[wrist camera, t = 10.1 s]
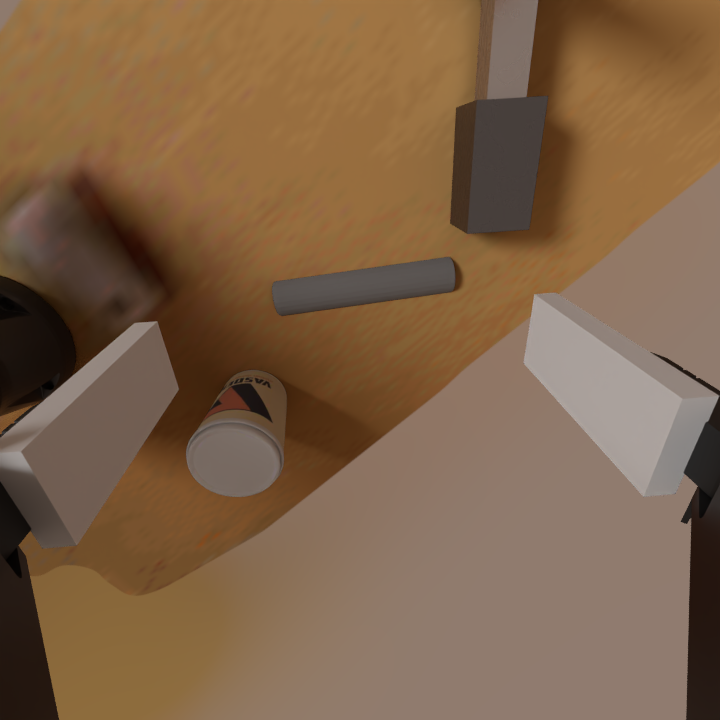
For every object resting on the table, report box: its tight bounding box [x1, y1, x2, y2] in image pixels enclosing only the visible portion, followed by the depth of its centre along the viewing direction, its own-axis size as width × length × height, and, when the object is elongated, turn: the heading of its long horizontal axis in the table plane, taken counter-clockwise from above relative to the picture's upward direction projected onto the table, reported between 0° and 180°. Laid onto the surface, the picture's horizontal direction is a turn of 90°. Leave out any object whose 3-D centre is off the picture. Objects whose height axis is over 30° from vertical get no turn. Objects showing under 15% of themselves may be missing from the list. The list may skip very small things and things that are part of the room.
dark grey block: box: [450, 96, 548, 234], centre depth 35 cm, size 6×10×6 cm, turn 3°
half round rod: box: [272, 257, 455, 316], centre depth 42 cm, size 4×20×2 cm, turn 97°
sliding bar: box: [475, 0, 538, 101], centre depth 26 cm, size 4×20×16 cm, turn 3°
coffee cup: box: [186, 370, 287, 497], centre depth 43 cm, size 9×9×12 cm
